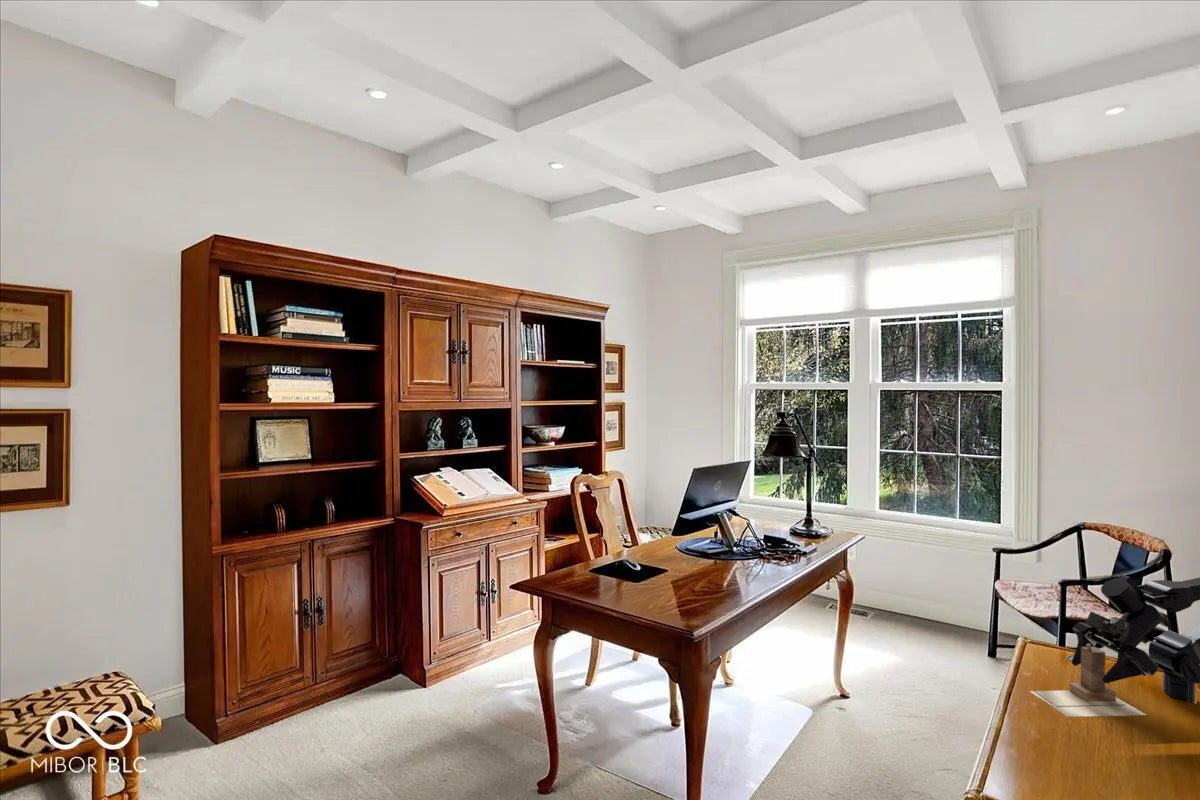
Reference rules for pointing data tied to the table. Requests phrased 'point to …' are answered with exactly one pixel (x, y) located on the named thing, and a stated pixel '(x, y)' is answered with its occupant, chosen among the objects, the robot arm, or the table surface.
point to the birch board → (1085, 705)
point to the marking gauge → (1092, 677)
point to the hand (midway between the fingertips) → (1088, 672)
